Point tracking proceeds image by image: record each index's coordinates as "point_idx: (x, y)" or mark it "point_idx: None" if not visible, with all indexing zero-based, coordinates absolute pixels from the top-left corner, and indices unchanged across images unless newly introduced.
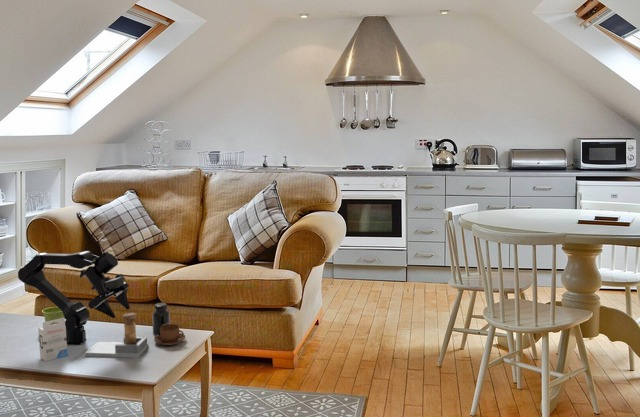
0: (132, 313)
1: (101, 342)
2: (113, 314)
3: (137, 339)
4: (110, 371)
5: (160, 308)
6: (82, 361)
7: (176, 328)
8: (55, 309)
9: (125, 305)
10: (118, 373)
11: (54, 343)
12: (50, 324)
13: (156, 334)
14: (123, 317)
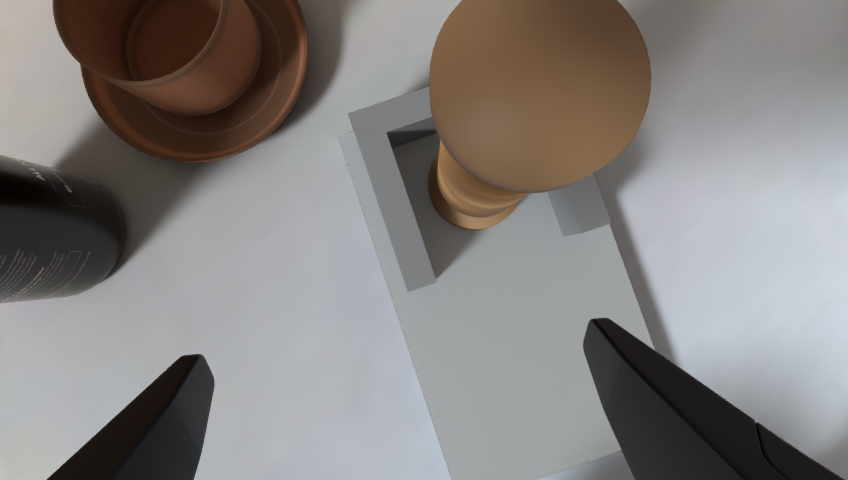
0: (453, 81)
1: (461, 470)
2: (641, 344)
3: (399, 171)
4: (808, 75)
5: None
6: (755, 361)
7: (85, 2)
8: None
9: (175, 456)
10: (811, 9)
11: None
12: None
13: (123, 234)
14: (632, 127)
